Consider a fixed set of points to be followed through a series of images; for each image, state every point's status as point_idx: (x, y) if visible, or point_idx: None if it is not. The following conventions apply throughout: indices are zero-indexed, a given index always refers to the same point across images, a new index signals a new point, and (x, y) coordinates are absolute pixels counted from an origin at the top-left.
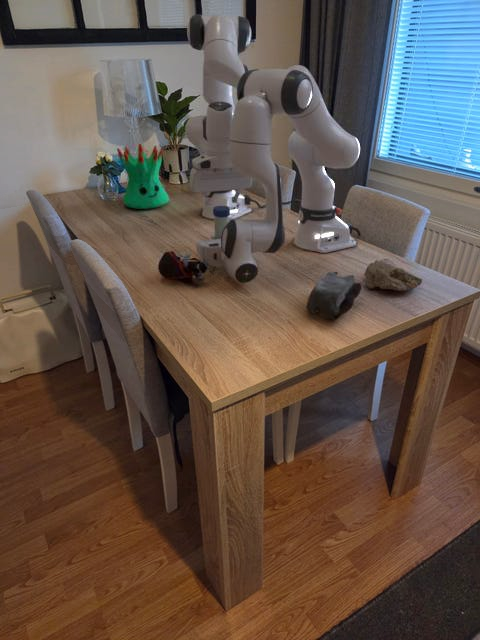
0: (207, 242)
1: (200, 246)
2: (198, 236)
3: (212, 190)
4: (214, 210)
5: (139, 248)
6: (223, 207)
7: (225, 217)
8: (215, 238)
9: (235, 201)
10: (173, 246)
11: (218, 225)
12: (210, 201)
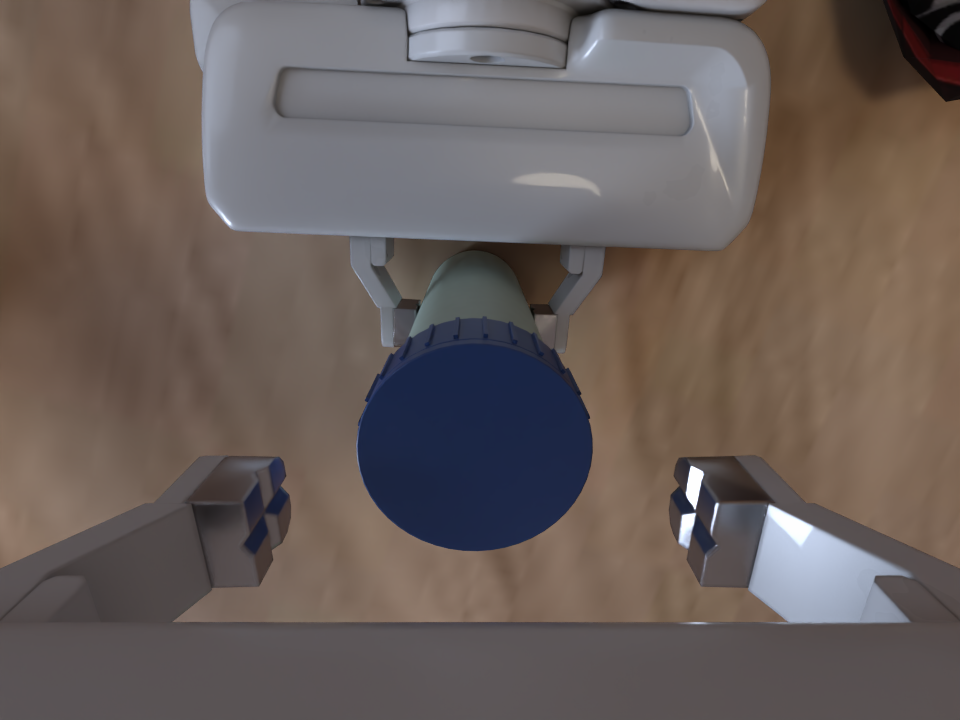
0: (665, 178)
1: (768, 88)
2: (531, 580)
3: (838, 637)
4: (589, 423)
5: (895, 518)
6: (440, 476)
7: None
8: (537, 314)
9: (230, 465)
10: None
11: (528, 322)
12: (710, 488)
